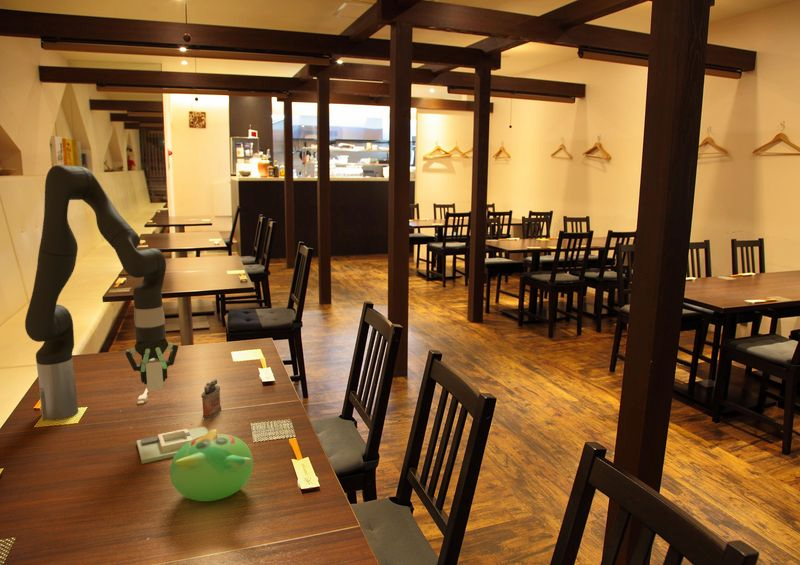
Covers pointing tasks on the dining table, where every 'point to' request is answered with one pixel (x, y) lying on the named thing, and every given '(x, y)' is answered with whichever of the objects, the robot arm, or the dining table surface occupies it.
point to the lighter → (211, 400)
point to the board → (167, 444)
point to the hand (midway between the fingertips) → (154, 381)
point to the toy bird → (211, 467)
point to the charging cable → (143, 397)
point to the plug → (154, 374)
